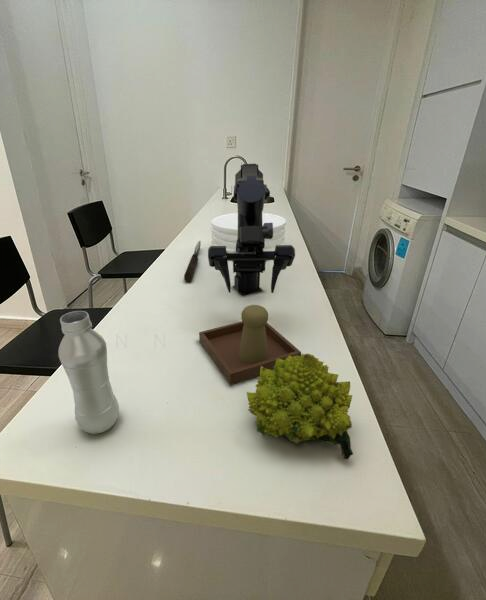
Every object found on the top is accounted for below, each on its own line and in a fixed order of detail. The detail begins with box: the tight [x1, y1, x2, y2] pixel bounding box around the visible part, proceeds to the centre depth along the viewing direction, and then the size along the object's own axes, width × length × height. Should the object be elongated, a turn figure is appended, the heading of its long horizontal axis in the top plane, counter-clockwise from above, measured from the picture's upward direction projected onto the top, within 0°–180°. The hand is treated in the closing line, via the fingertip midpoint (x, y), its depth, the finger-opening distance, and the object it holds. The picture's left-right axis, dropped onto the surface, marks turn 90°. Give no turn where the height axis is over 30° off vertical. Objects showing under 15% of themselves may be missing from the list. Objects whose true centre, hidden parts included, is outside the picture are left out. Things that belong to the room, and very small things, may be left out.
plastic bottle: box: [57, 310, 120, 435], centre depth 49 cm, size 6×7×20 cm
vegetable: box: [246, 353, 354, 461], centre depth 51 cm, size 15×16×15 cm
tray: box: [198, 320, 302, 386], centre depth 69 cm, size 16×16×3 cm
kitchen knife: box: [183, 240, 201, 283], centre depth 118 cm, size 36×2×5 cm, turn 175°
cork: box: [239, 304, 269, 364], centre depth 65 cm, size 6×6×11 cm
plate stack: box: [210, 212, 287, 252], centre depth 128 cm, size 28×28×12 cm
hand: (250, 292), depth 71 cm, fingers open, 9 cm apart
